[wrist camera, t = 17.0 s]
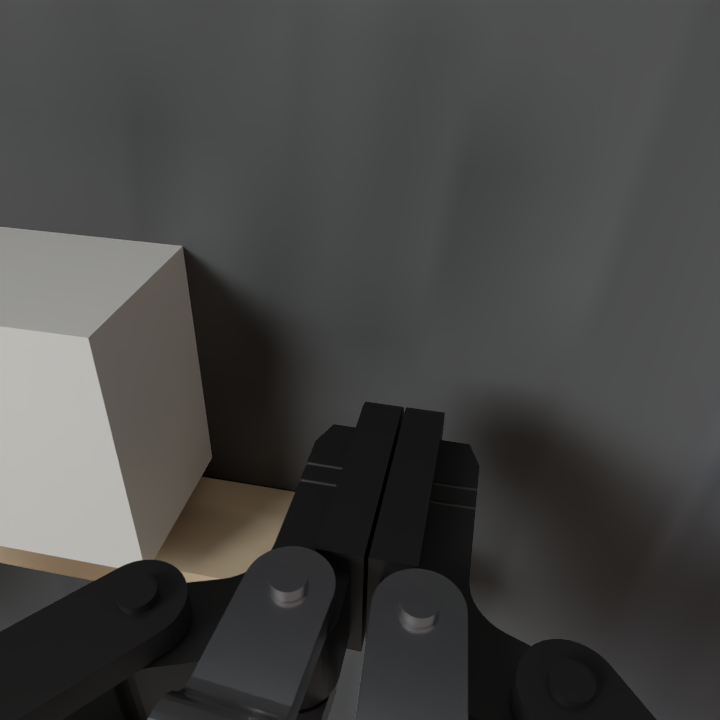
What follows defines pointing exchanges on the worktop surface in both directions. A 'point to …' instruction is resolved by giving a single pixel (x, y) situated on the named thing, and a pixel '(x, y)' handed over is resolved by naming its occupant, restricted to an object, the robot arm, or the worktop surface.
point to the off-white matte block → (96, 396)
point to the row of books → (197, 534)
